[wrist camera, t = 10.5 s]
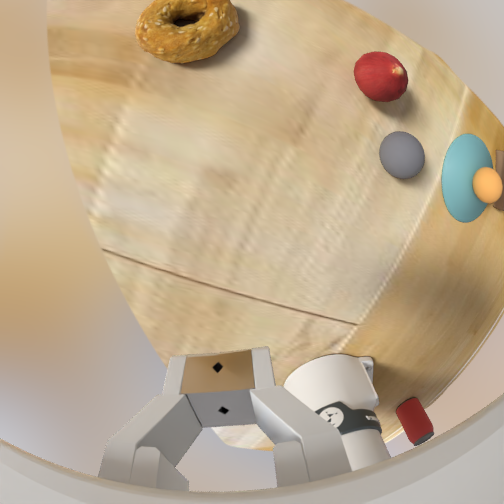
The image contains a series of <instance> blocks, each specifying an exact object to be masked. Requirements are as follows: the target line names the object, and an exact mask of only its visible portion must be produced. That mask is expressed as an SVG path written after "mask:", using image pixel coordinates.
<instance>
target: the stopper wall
mask: <svg viewBox="0 0 504 504" xmlns="http://www.w3.org/2000/svg"><path fill="white" fill-rule="evenodd" d="M496 172H497V173H498V174H499V176H500V178H501V180H502V186H503V189H502V194H501V196H500V198H499V199H498V200H497V201H496V202H494V207H496V208H498V209H500V210H502V211H504V151H499V150H496Z"/></svg>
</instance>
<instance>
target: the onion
mask: <svg viewBox="0 0 504 504" xmlns="http://www.w3.org/2000/svg"><path fill="white" fill-rule="evenodd" d="M354 76H355V81H356V83H357V85H358V87H359V89H360V90H361V91H362V92H363V93H364V94H365V95H366V96H367V97H369V98H371V99H373V100H375V101H382V102H389V101H393V100H396V99H398V98H399V97H400V96H401V95H402V94H403V93H404V92H405V91H406V88H407V84H408V76H407V71H406V70H405V68H404V67H403V65H402V64H401V63H400V62H399V60H398V59H397V58H395V57H394V56H392V55H390V54H388V53H385V52H370V53H367V54H364V55H363V56H362V57H361V58H360V59H359V60H358V61H357V62H356V63H355V68H354Z"/></svg>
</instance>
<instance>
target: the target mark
mask: <svg viewBox="0 0 504 504" xmlns="http://www.w3.org/2000/svg"><path fill="white" fill-rule="evenodd" d="M482 167H489V168H492V169H493V164H492V160H491V156H490V153H489V151H488V149H487V147H486V145H485V144H484V143H483V141H482V140H481V139H479V138H478V137H477V136H475V135H472V134H463V135H461V136H459V137H457V138H456V139H455V140H454V141H453V142H452V144H451V145H450V147H449V149H448V151H447V153H446V156H445V159H444V163H443V169H442V192H443V197H444V201H445V204H446V207H447V209H448V211H449V212H450V214H451V215H452V216H453V217H454V218H455V219H456V220H458V221H460V222H471V221H473V220H475V219H476V218H477V217H479V216H480V215H481V213H482V212H483V211H484V209H485V208H486V206H487V204H488V203H485V202H482V201H481V200H480V199H479V198H478V197H477V196H476V194H475V192H474V190H473V185H472V181H473V176H474V174H475V173H476V171H477V170H478V169H480V168H482Z"/></svg>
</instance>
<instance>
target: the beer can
mask: <svg viewBox="0 0 504 504" xmlns="http://www.w3.org/2000/svg"><path fill="white" fill-rule="evenodd" d="M396 414H397V416H398V418H399V420H400V422H401V424H402V426H403V428H404V430H405V432H406V434H407V437H408V439H409V440H410V442H412V443H413V444H414V446H417V445H420V444H422V443H424V442H425V441H427V440H428V439H430V438H431V437H432V436H433V435H434V432H433V425H432V423H431V421H430V419H429V418H428V416H427V414H426V412H425V410H424V409H423V407H422V405H421V403H420V402H419V400H418V399H417V398H411V399H409V400H407V401H405V402H403V403H402V404H401V405H400V406H399V407H398V409H397V411H396Z"/></svg>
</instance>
